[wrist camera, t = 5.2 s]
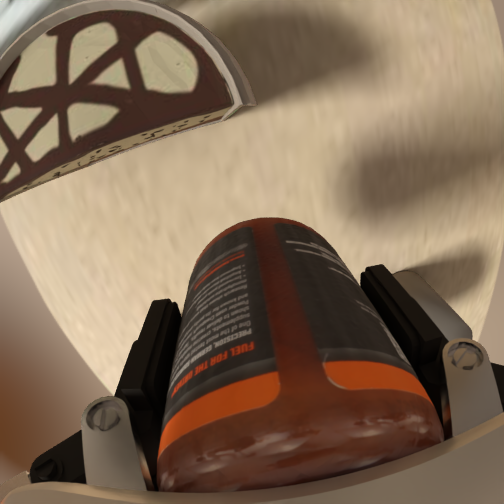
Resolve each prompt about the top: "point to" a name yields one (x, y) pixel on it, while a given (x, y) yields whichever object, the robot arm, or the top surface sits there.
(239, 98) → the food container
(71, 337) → the top surface
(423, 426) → the supplement bottle
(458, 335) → the gray cylinder
